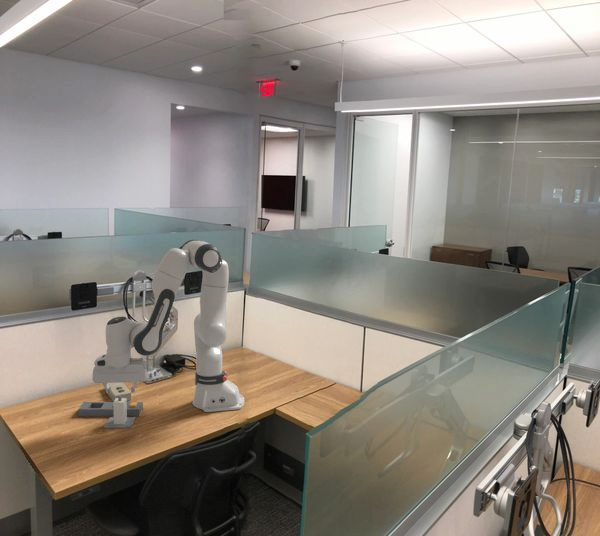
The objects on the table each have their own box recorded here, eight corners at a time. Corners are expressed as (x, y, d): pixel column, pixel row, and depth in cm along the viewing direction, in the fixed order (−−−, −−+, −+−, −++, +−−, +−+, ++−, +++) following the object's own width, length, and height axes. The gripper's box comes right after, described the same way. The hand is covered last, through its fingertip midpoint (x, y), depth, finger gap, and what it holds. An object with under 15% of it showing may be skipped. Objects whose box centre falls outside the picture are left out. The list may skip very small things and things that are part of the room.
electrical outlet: (120, 378, 238) (131, 392, 223) (120, 386, 239) (131, 401, 224) (104, 381, 234) (114, 395, 219) (104, 389, 235) (114, 404, 220)
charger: (126, 419, 205) (126, 394, 203) (124, 424, 201) (123, 398, 199) (116, 419, 205) (116, 394, 203) (113, 424, 201) (113, 398, 199)
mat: (135, 418, 207) (135, 417, 207) (130, 428, 199) (130, 426, 199) (110, 418, 206) (110, 417, 206) (104, 428, 199) (104, 426, 198)
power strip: (142, 408, 216) (142, 400, 216) (139, 416, 209) (139, 407, 209) (84, 408, 214) (83, 400, 214) (78, 416, 207) (78, 407, 207)
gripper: (148, 355, 203) (150, 388, 205) (95, 356, 201) (97, 389, 203) (144, 361, 196) (146, 394, 199) (89, 362, 195) (92, 396, 197)
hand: (121, 392), depth 201 cm, fingers open, 8 cm apart
